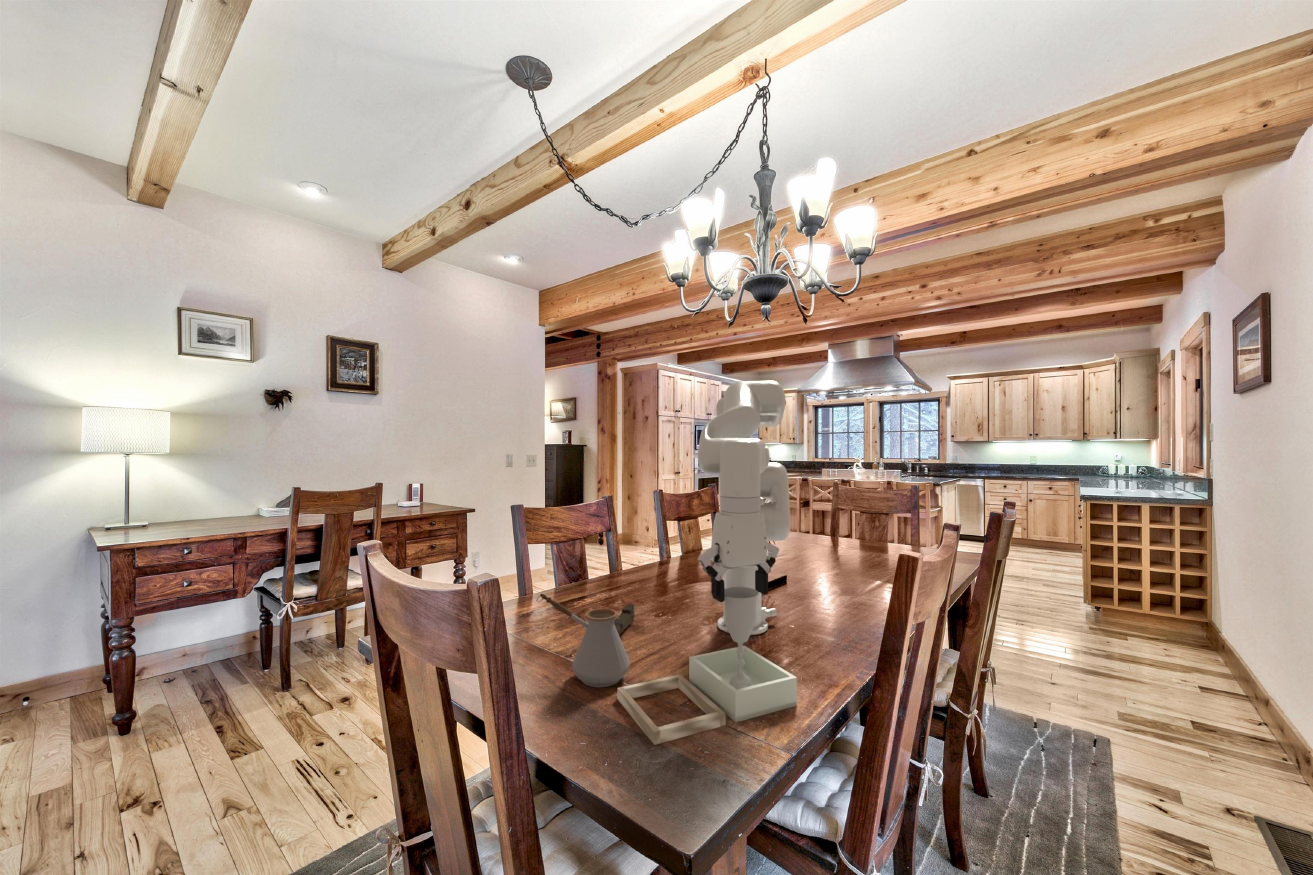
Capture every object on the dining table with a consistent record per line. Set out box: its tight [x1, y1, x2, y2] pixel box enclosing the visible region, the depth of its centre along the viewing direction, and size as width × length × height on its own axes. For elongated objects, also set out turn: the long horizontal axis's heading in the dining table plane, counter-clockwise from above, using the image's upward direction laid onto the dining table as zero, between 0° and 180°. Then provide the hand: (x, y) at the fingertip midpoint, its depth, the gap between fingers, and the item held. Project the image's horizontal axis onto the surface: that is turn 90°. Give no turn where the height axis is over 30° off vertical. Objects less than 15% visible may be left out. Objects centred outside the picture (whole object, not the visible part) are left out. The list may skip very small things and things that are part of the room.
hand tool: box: [614, 603, 635, 636], centre depth 129 cm, size 19×4×5 cm, turn 161°
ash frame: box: [616, 673, 726, 746], centre depth 90 cm, size 13×16×2 cm
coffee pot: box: [536, 593, 631, 688], centre depth 105 cm, size 21×12×15 cm, turn 64°
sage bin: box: [688, 645, 798, 723], centre depth 96 cm, size 13×16×5 cm
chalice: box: [723, 587, 758, 689], centre depth 96 cm, size 7×7×18 cm
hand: (740, 596), depth 97 cm, fingers open, 9 cm apart
